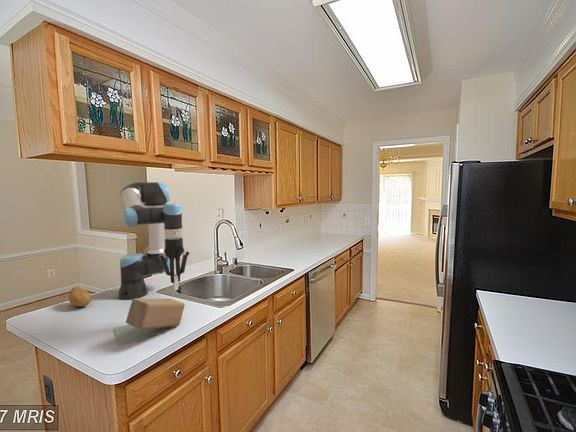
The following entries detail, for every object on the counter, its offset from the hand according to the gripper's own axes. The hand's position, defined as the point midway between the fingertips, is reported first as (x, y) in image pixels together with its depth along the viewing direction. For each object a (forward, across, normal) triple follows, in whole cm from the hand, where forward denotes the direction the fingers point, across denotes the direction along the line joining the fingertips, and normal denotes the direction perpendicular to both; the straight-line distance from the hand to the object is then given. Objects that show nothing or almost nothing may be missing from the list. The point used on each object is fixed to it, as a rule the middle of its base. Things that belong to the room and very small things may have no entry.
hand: (175, 289), depth 130 cm
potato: (+15, -35, +49) cm, 62 cm away
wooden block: (+10, -1, -2) cm, 10 cm away
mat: (+15, -14, 0) cm, 21 cm away
